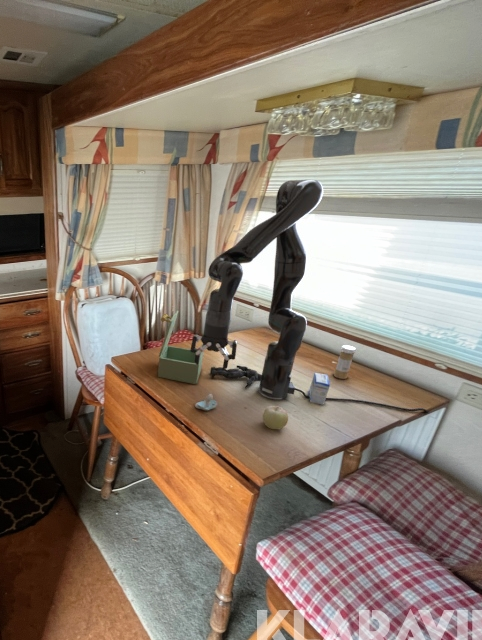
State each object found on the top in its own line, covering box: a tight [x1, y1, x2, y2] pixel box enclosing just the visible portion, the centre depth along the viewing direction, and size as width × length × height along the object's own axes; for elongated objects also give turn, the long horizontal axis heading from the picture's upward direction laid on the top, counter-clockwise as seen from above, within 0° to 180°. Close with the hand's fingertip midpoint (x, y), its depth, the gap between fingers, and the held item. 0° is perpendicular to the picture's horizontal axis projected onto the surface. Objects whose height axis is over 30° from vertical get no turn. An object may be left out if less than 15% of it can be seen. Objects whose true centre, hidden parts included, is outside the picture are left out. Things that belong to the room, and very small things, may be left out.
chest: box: [157, 345, 204, 385], centre depth 150 cm, size 16×14×9 cm
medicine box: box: [308, 372, 331, 405], centre depth 131 cm, size 8×4×9 cm, turn 152°
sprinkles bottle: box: [333, 344, 356, 380], centre depth 145 cm, size 5×5×13 cm
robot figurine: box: [210, 365, 262, 389], centre depth 146 cm, size 18×4×20 cm
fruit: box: [262, 405, 289, 430], centre depth 116 cm, size 8×7×8 cm
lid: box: [158, 310, 180, 358], centre depth 148 cm, size 16×14×5 cm
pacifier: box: [194, 393, 218, 411], centre depth 127 cm, size 7×6×6 cm
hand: (210, 366), depth 122 cm, fingers open, 8 cm apart
